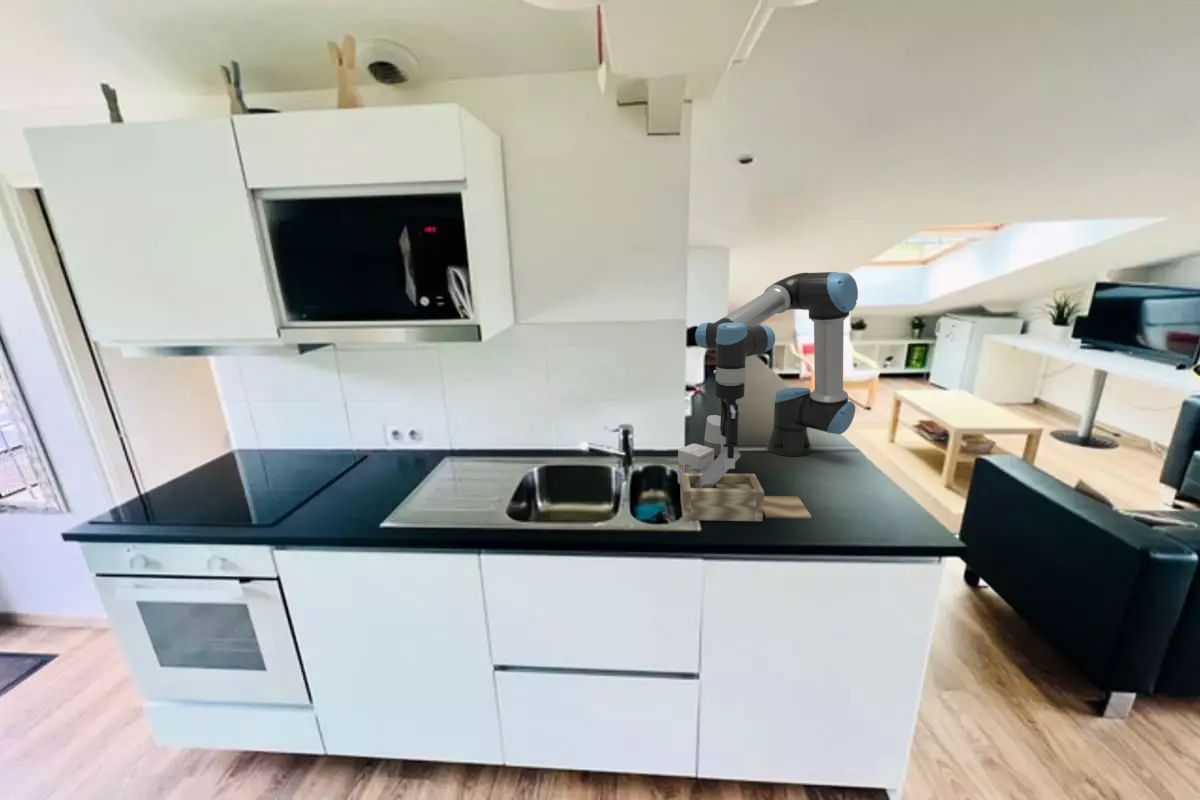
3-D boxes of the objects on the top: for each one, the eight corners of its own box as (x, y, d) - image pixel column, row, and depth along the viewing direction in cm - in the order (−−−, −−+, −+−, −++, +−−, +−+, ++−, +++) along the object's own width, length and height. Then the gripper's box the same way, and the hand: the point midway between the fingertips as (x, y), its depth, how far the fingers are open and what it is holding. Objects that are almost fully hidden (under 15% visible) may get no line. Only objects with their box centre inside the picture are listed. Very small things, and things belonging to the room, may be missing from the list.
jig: (753, 500, 143) (754, 473, 140) (762, 521, 131) (764, 492, 129) (680, 499, 145) (680, 473, 143) (683, 519, 133) (683, 491, 131)
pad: (756, 497, 144) (756, 495, 144) (798, 498, 143) (798, 496, 143) (765, 517, 133) (766, 515, 133) (811, 518, 132) (811, 516, 132)
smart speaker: (718, 460, 172) (719, 423, 169) (698, 453, 179) (699, 417, 176) (734, 454, 178) (736, 417, 174) (714, 447, 185) (715, 412, 181)
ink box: (692, 474, 162) (693, 442, 159) (714, 482, 156) (715, 448, 153) (676, 483, 156) (677, 449, 153) (698, 491, 150) (699, 455, 147)
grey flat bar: (736, 447, 136) (730, 442, 136) (740, 455, 130) (733, 450, 130) (700, 488, 140) (694, 483, 140) (702, 498, 135) (696, 493, 134)
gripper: (711, 374, 137) (709, 450, 144) (720, 391, 119) (718, 477, 126) (738, 373, 137) (735, 450, 143) (751, 391, 118) (748, 477, 125)
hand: (727, 462), depth 134 cm, fingers closed on grey flat bar, 6 cm apart
